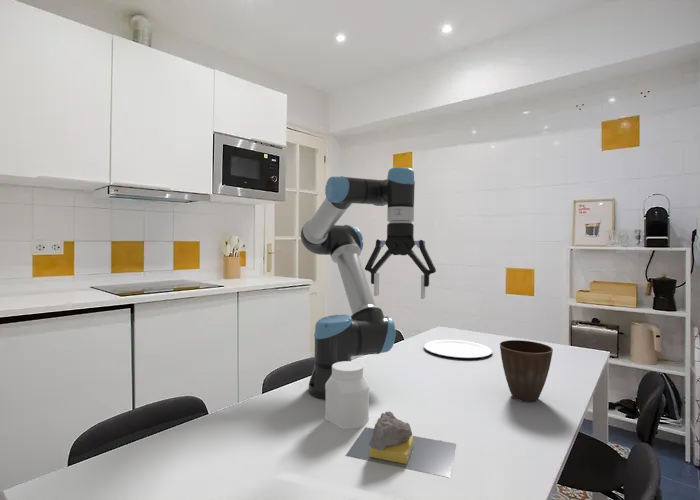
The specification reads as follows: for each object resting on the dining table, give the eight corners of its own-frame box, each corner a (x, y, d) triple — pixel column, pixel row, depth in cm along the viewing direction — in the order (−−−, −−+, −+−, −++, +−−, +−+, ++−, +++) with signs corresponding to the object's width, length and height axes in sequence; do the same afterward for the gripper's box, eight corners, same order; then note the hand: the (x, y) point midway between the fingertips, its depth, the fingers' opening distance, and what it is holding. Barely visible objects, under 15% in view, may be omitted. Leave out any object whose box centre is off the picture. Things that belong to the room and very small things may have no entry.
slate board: (345, 461, 85) (345, 455, 85) (365, 431, 98) (365, 427, 98) (449, 483, 77) (450, 477, 77) (456, 448, 91) (456, 443, 91)
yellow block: (379, 439, 92) (369, 457, 84) (379, 430, 92) (369, 447, 84) (413, 445, 89) (406, 464, 82) (413, 436, 89) (406, 454, 82)
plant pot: (542, 412, 111) (543, 356, 111) (490, 397, 121) (491, 346, 121) (557, 397, 122) (559, 346, 122) (509, 385, 132) (510, 337, 132)
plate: (502, 362, 159) (502, 357, 159) (430, 360, 159) (430, 356, 159) (479, 343, 188) (479, 339, 188) (418, 342, 189) (418, 338, 188)
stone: (395, 458, 80) (395, 430, 80) (361, 446, 85) (362, 420, 84) (415, 439, 88) (416, 413, 88) (384, 429, 93) (384, 404, 93)
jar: (375, 425, 102) (376, 367, 102) (348, 437, 96) (348, 375, 95) (345, 410, 110) (346, 357, 110) (318, 420, 104) (319, 364, 104)
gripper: (354, 222, 113) (353, 295, 114) (443, 221, 105) (441, 301, 105) (363, 223, 120) (362, 292, 121) (446, 223, 112) (445, 297, 112)
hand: (399, 296), depth 113 cm, fingers open, 13 cm apart
